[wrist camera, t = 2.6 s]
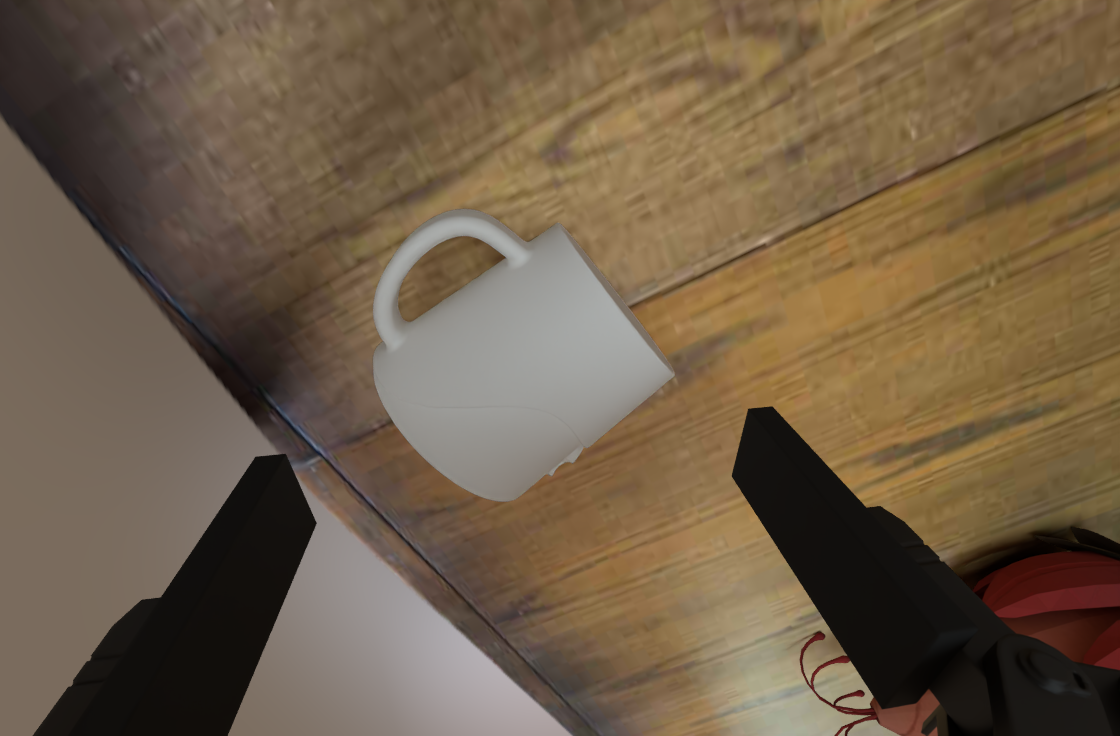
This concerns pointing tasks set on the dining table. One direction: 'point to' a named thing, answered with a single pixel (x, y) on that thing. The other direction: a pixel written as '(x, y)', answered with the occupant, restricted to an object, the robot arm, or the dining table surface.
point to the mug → (510, 358)
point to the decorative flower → (1032, 616)
